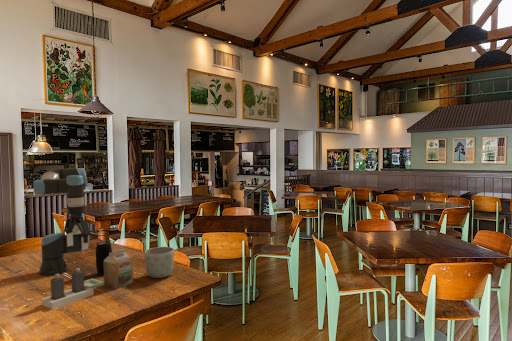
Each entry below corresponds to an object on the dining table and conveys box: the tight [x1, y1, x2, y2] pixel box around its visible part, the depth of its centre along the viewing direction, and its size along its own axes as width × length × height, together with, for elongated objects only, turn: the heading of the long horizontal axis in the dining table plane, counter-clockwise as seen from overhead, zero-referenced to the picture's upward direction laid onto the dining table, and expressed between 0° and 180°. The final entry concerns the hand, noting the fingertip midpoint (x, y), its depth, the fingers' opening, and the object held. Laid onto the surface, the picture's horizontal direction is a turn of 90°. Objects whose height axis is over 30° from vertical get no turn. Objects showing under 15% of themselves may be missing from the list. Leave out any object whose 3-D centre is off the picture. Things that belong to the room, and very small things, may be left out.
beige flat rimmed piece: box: [41, 286, 94, 310], centre depth 169 cm, size 10×20×4 cm, turn 147°
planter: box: [144, 246, 175, 279], centre depth 203 cm, size 17×17×15 cm
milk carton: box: [103, 248, 134, 290], centre depth 189 cm, size 11×11×19 cm
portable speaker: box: [95, 240, 113, 277], centre depth 208 cm, size 9×9×20 cm
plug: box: [71, 267, 85, 293], centre depth 173 cm, size 4×4×14 cm
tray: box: [84, 278, 104, 290], centre depth 188 cm, size 11×11×2 cm
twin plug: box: [50, 273, 65, 300], centre depth 165 cm, size 4×4×14 cm
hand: (77, 247), depth 175 cm, fingers open, 13 cm apart
